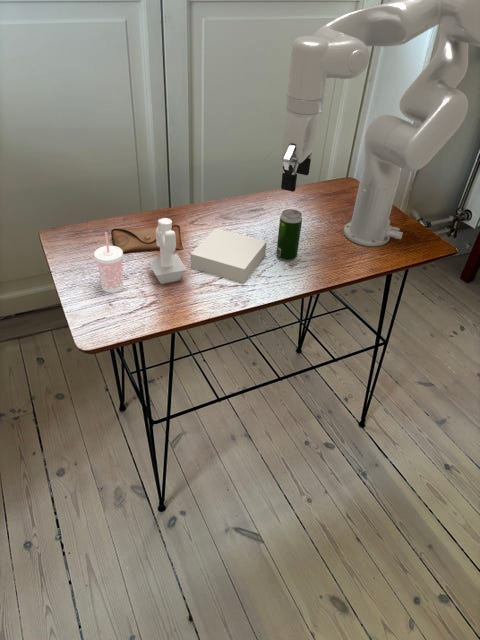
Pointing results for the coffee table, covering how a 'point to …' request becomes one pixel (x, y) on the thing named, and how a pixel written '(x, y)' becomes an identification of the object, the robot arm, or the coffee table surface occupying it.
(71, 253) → the coffee table surface
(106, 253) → the beverage cup
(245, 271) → the riser block
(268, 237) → the coffee table surface
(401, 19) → the robot arm
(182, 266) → the figurine
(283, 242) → the beer can
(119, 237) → the sunglasses case
